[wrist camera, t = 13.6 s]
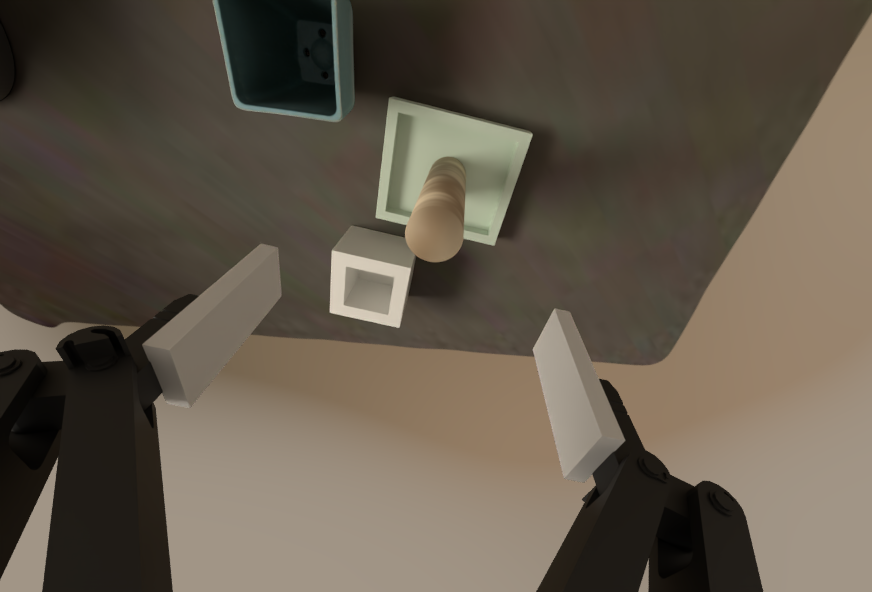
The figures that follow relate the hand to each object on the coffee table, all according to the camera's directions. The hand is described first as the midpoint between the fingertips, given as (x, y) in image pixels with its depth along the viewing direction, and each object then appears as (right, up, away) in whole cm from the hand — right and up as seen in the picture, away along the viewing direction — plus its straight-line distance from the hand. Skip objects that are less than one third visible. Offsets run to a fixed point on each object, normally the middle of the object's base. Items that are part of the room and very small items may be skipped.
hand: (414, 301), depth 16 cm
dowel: (+2, +13, +20) cm, 24 cm away
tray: (+2, +14, +21) cm, 25 cm away
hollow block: (-6, +5, +28) cm, 29 cm away
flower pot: (-10, +23, +16) cm, 30 cm away
